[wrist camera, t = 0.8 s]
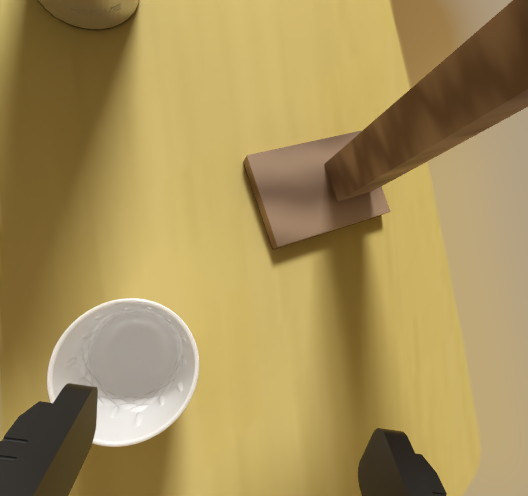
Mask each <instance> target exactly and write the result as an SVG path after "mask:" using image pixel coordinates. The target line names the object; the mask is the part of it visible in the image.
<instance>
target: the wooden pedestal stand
mask: <svg viewBox="0 0 528 496" xmlns="http://www.w3.org/2000/svg"><path fill="white" fill-rule="evenodd" d="M526 107H528V0H513V1H512V2H511V3H510V4H508V5H507V6H506V7H505V8H504V9H503V10H501V12H499V13H498V14H497V15H496V16H495V17H493V18H492V19H491V20H490V21H489V22H488V23H486V24H485V25H484V26H483V27H482V28H481V29H480V30H478V31H477V32H476V33H475V34H474V35H473V36H471V37H470V38H469V39H468V40H467V41H466V42H465V43H463V44H462V45H461V46H460V47H459V48H458V49H456V50H455V51H454V52H453V53H452V54H451V55H450V56H448V57H447V58H446V59H445V60H444V61H443V62H441V64H439V65H438V66H437V67H436V68H434V69H433V70H432V71H431V72H430V73H429V74H428V75H426V76H425V77H424V78H423V79H422V80H421V81H419V82H418V83H417V84H416V85H415V86H414V87H413V88H411V89H410V90H409V91H408V92H407V93H406V94H404V95H403V96H402V97H401V98H400V99H399V100H397V101H396V102H395V103H394V104H393V105H392V106H391V107H389V108H388V109H387V110H386V111H385V112H384V113H382V114H381V115H380V116H379V117H378V118H377V119H376V120H374V121H373V122H372V123H371V124H370V125H369V126H367V127H366V128H365V129H364V130H363V131H362V132H361V131H358V132H353V133H349V134H344V135H339V136H335V137H330V138H326V139H321V140H316V141H312V142H307V143H303V144H298V145H293V146H289V147H284V148H279V149H275V150H270V151H266V152H261V153H256V154H252V155H247V156H246V158H245V160H244V161H243V163H244V166H245V168H246V171H247V174H248V177H249V180H250V183H251V186H252V189H253V192H254V195H255V198H256V201H257V204H258V207H259V210H260V213H261V216H262V219H263V222H264V225H265V228H266V231H267V234H268V237H269V240H270V242H271V245H272V248H273V249H276V248H279V247H282V246H286V245H289V244H292V243H295V242H298V241H301V240H304V239H308V238H311V237H314V236H317V235H320V234H323V233H327V232H330V231H333V230H336V229H339V228H342V227H346V226H349V225H352V224H355V223H358V222H361V221H364V220H368V219H371V218H374V217H377V216H380V215H383V214H385V213H388V212H390V209H389V206H388V204H387V201H386V198H385V195H384V193H383V190H382V187H381V186H383V185H385V184H386V183H388V182H390V181H392V180H394V179H396V178H397V177H399V176H401V175H403V174H405V173H407V172H408V171H410V170H412V169H414V168H416V167H418V166H419V165H421V164H423V163H425V162H427V161H429V160H430V159H432V158H434V157H436V156H438V155H440V154H442V153H443V152H445V151H447V150H449V149H451V148H453V147H454V146H456V145H458V144H460V143H462V142H463V141H465V140H467V139H469V138H471V137H473V136H475V135H476V134H478V133H480V132H482V131H484V130H486V129H487V128H489V127H491V126H493V125H495V124H497V123H499V122H500V121H502V120H504V119H506V118H508V117H510V116H511V115H513V114H515V113H517V112H519V111H521V110H522V109H524V108H526Z"/></svg>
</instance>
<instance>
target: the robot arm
mask: <svg viewBox="0 0 528 496" xmlns="http://www.w3.org/2000/svg"><path fill="white" fill-rule="evenodd" d="M38 1H39V2H40V3H41V4H42V5H43V6H44V8H45V9H46V10H48V11H49V12H50V13H51V14H53V15H54V16H55V17H57V18H59V19H60V20H62V21H64V22H66V23H68V24H71V25H74V26H77V27H81V28H87V29H105V28H111V27H114V26H116V25H119V24H121V23H123V22H124V21H126V20H127V19H128V18H129V17H130V16H131V15H132V14H133V13H134V12H135V10H136V7H137V5H138V3H139V0H38ZM97 398H98V389H97V387H93V386H86V385H79V384H72V383H68V384H66V385H65V386H64V387H63V389H62V390H61V392H60V393H59V395H58V396H57V398H56V399H55V401H54V402H53V403H48V402H40V401H39V402H38V403H37V404H35V405H34V406H33V407H31V408H30V409H29V410H27V411H26V412H25V413H23V414H22V415H21V416H19V417H18V419H17V420H16V421H15V423H14V424H13V425H12V427H11V428H10V429H9V431H8V432H7V433H6V435H5V436H4V439H3V441H0V496H68V495H69V493H70V490H71V488H72V486H73V484H74V482H75V480H76V478H77V476H78V473H79V471H80V469H81V467H82V465H83V463H84V461H85V459H86V456H87V454H88V452H89V450H90V447H91V445H92V442H93V439H94V435H95V430H96V420H97ZM358 480H359V486H360V490H361V494H362V496H446V491H445V489H444V487H443V485H442V483H441V481H440V479H439V477H438V475H437V473H436V472H435V470H434V469H433V468H432V467H431V466H430V464H429V463H428V462H427V461H426V459H425V458H424V457H423V456H422V455H421V454H415V452H414V450H413V448H412V446H411V443H410V441H409V439H408V437H407V435H406V434H405V433H404V432H401V431H394V430H387V429H380V428H377V429H376V430H375V431H374V433H373V435H372V437H371V439H370V441H369V443H368V445H367V448H366V450H365V452H364V454H363V456H362V458H361V460H360V463H359V468H358Z"/></svg>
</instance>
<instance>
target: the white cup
mask: <svg viewBox="0 0 528 496" xmlns="http://www.w3.org/2000/svg"><path fill="white" fill-rule="evenodd" d="M198 374H199V355H198V350H197V346H196V342H195V340H194V337H193V335H192V333H191V331H190V330H189V328H188V327H187V325H186V324H185V323H184V321H183V320H182V319H181V318H180V317H179V316H178V315H177V314H175V313H174V312H173V311H171V310H170V309H168V308H167V307H165V306H163V305H161V304H158V303H156V302H153V301H149V300H144V299H136V298H127V299H118V300H113V301H109V302H106V303H103V304H101V305H98V306H96V307H94V308H92V309H90V310H89V311H87V312H85V313H84V314H82V315H81V316H80V317H79V318H77V319H76V320H75V321H74V322H73V323H72V324H71V325H70V326H69V327H68V328H67V329H66V330H65V332H64V333H63V334H62V336H61V337H60V339H59V340H58V342H57V344H56V346H55V348H54V350H53V353H52V355H51V358H50V362H49V366H48V372H47V389H48V395H49V399H50V403H53V402H54V401H55V399H56V398H57V396H58V395H59V393H60V392H61V390H62V389H63V387H64V386H65V385H66V384H68V383H72V384H79V385H86V386H93V387H97V389H98V398H97V420H96V430H95V435H94V439H93V442H92V444H96V445H100V446H107V447H123V446H130V445H134V444H138V443H141V442H144V441H146V440H149V439H151V438H153V437H155V436H156V435H158V434H160V433H161V432H163V431H164V430H165V429H167V428H168V427H169V426H170V425H171V424H172V423H174V422H175V421H176V419H177V418H178V417H179V416H180V415H181V414H182V412H183V411H184V410H185V408H186V407H187V405H188V403H189V401H190V400H191V398H192V395H193V393H194V390H195V387H196V384H197V380H198Z"/></svg>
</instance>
